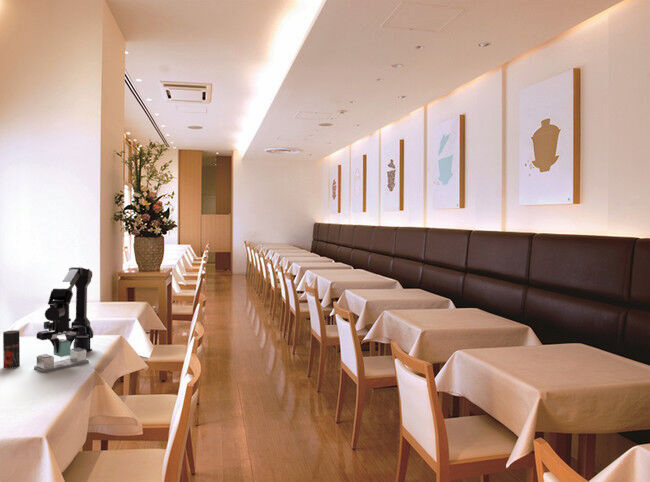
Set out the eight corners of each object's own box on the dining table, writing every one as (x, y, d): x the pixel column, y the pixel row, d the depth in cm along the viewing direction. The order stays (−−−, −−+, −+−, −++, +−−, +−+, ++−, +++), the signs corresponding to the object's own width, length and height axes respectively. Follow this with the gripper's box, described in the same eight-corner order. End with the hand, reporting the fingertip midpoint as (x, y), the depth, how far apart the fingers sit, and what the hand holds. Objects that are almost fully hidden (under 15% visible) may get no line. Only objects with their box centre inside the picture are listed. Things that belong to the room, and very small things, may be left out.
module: (63, 352, 220) (62, 338, 220) (70, 355, 216) (70, 340, 216) (53, 354, 217) (53, 340, 216) (61, 357, 213) (61, 342, 213)
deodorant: (23, 365, 216) (22, 331, 215) (10, 369, 210) (10, 333, 210) (12, 363, 218) (12, 329, 217) (0, 367, 212) (-1, 332, 212)
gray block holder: (78, 359, 227) (78, 346, 227) (88, 362, 222) (88, 349, 221) (34, 368, 211) (34, 355, 211) (44, 372, 206) (44, 358, 206)
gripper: (73, 311, 228) (74, 344, 229) (30, 317, 213) (30, 353, 214) (86, 314, 221) (86, 348, 222) (42, 320, 206) (42, 357, 207)
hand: (62, 352), depth 216 cm, fingers closed on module, 4 cm apart
